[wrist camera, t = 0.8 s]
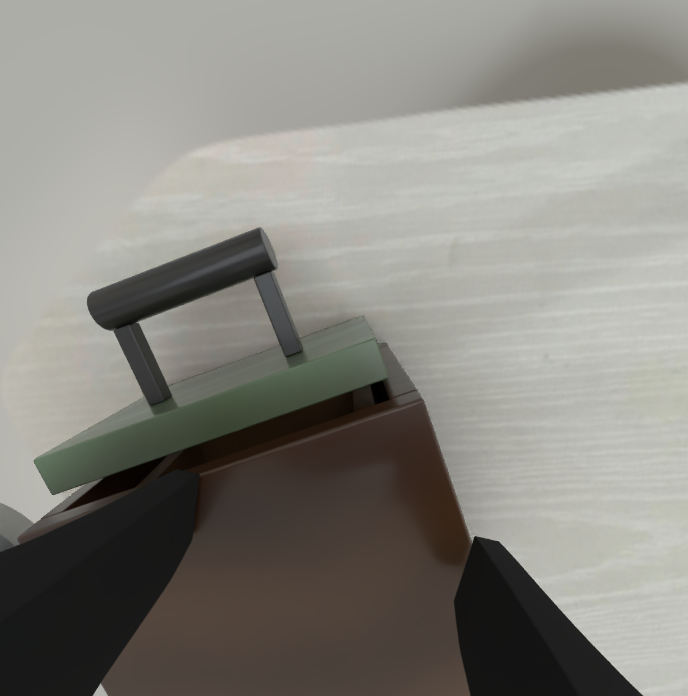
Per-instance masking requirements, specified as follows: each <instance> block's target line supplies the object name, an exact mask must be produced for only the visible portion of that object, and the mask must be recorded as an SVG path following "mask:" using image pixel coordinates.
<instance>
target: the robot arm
mask: <svg viewBox="0 0 688 696" xmlns="http://www.w3.org/2000/svg"><path fill="white" fill-rule="evenodd" d="M199 476H200V474H196V473H191V472H187V471H183V470H178V469H177V470H175V471H173V472H170V473H168V474H166V475H164V476H162V477H160V478H158V479H156V480H155V481H153V482H151V483H149V484H147V485H145V486H143V487H141V488H139V489H137V490H135V491H133V492H131V493H129V494H127V495H125V496H123V497H121V498H120V499H118V500H116V501H114V502H112V503H110V504H108V505H106V506H104V507H102V508H100V509H98V510H96V511H94V512H91V513H89V514H87V515H85V516H83V517H81V518H78V519H76V520H74V521H72V522H70V523H67V524H65V525H63V526H61V527H59V528H57V529H54V530H52V531H50V532H48V533H46V534H44V535H41V536H39V537H37V538H34V539H32V540H30V541H27V542H25V543H22V544H20V545H17V546H15V547H12V548H10V549H7V550H5V551H2V552H1V551H0V696H93V694H94V693H95V691H96V689H97V688H98V686H99V685H100V683H101V682H102V680H103V679H104V677H105V676H106V674H107V673H108V672H109V670H110V669H111V667H112V666H113V664H114V663H115V661H116V660H117V658H118V657H119V656H120V654H121V653H122V651H123V650H124V648H125V647H126V645H127V644H128V642H129V641H130V640H131V638H132V637H133V635H134V634H135V632H136V631H137V629H138V628H139V626H140V625H141V624H142V622H143V621H144V619H145V618H146V616H147V615H148V613H149V612H150V610H151V609H152V607H153V606H154V604H155V603H156V602H157V600H158V599H159V597H160V596H161V594H162V593H163V591H164V590H165V588H166V587H167V585H168V584H169V582H170V581H171V579H172V577H173V575H174V574H175V572H176V570H177V568H178V566H179V565H180V563H181V561H182V559H183V557H184V555H185V553H186V551H187V549H188V547H189V546H190V544H191V542H192V538H193V529H194V520H195V511H196V502H197V493H198V484H199ZM454 608H455V617H456V626H457V633H458V640H459V648H460V653H461V657H462V661H463V666H464V670H465V674H466V679H467V683H468V687H469V692H470V696H643V695H642V694H641V693H640V692H639V691H638V690H637V689H635V688H634V687H633V686H632V685H631V684H630V683H629V682H628V681H627V680H626V679H625V678H624V677H623V676H622V675H621V674H620V673H619V672H618V671H617V670H616V668H615V667H614V666H613V665H612V664H611V663H610V662H609V661H608V660H607V659H606V658H605V657H604V656H603V655H602V654H601V653H600V652H599V651H598V650H597V649H596V648H595V647H594V646H593V645H592V644H591V643H590V642H589V641H588V640H587V638H586V637H585V636H584V635H583V634H582V633H581V632H580V631H579V630H578V629H577V628H576V627H575V626H574V624H573V623H572V622H571V621H570V620H569V619H568V618H567V617H566V616H565V615H564V614H563V612H562V611H561V610H560V609H559V608H558V607H557V606H556V605H555V604H554V602H553V601H552V600H551V599H550V598H549V597H548V596H547V595H546V593H545V592H544V591H543V590H542V589H541V588H540V587H539V585H538V584H537V583H536V582H535V581H534V580H533V579H532V578H531V576H530V575H529V574H528V573H527V572H526V571H525V570H524V568H523V567H522V566H521V565H520V564H519V563H518V562H517V560H516V559H515V558H514V557H513V556H512V555H511V554H510V553H509V552H508V551H507V549H506V548H505V547H504V546H503V545H502V544H501V543H500V542H499V541H494V540H490V539H486V538H481V537H477V536H475V537H474V540H473V543H472V546H471V549H470V552H469V555H468V558H467V561H466V564H465V568H464V571H463V574H462V577H461V580H460V583H459V586H458V589H457V592H456V595H455V598H454Z"/></svg>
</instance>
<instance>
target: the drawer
mask: <svg viewBox="0 0 688 696" xmlns="http://www.w3.org/2000/svg"><path fill="white" fill-rule="evenodd" d="M277 268H278V263H277V259H276V256H275V253H274V250H273V248H272V245H271V243H270V241H269V239H268V237H267V235H266V233H265V232H264V230H263V229H262V228H256V229H254V230H251V231H248V232H246V233H243V234H241V235H238V236H236V237H233V238H230V239H228V240H225V241H223V242H220V243H217V244H215V245H212V246H210V247H207V248H204V249H202V250H199V251H197V252H194V253H192V254H189V255H186V256H184V257H181V258H179V259H176V260H173V261H171V262H168V263H166V264H163V265H161V266H158V267H155V268H153V269H150V270H148V271H145V272H142V273H140V274H137V275H135V276H132V277H129V278H127V279H124V280H122V281H119V282H117V283H114V284H111V285H109V286H106V287H104V288H101V289H98V290H96V291H93V292H91V293H90V294H89V296H88V298H87V306H88V310H89V312H90V314H91V316H92V318H93V319H94V320H95V322H96V323H97V324H98V325H100V326H101V327H102V328H104V329H106V330H110V331H114V333H115V335H116V337H117V339H118V341H119V343H120V346H121V348H122V350H123V352H124V354H125V356H126V358H127V360H128V362H129V364H130V367H131V369H132V371H133V373H134V375H135V377H136V379H137V381H138V383H139V385H140V387H141V390H142V392H143V394H144V396H145V397H143V398H141V399H140V400H138V401H136V402H134V403H133V404H131V405H129V406H127V407H125V408H124V409H122V410H120V411H118V412H117V413H115V414H113V415H111V416H110V417H108V418H106V419H104V420H103V421H101V422H99V423H97V424H95V425H94V426H92V427H90V428H88V429H87V430H85V431H83V432H81V433H80V434H78V435H76V436H74V437H73V438H71V439H69V440H67V441H66V442H64V443H62V444H60V445H58V446H57V447H55V448H53V449H51V450H50V451H48V452H46V453H44V454H43V455H41V456H39V457H37V458H36V459H34V463H35V465H36V467H37V469H38V471H39V473H40V474H41V476H42V478H43V480H44V482H45V483H46V485H47V487H48V489H49V491H50V493H51V494H52V495H55V494H58V493H61V492H64V491H67V490H69V489H72V488H75V487H78V486H81V485H84V484H87V483H90V482H92V481H95V480H98V479H101V478H104V477H107V476H110V475H113V474H115V473H118V472H121V471H124V470H127V469H130V468H133V467H136V466H138V465H141V464H144V463H147V462H150V461H153V460H156V459H158V458H161V457H164V456H167V455H168V456H167V457H166V458H165V459H164V460H163V461H162V462H161V463H160V464H159V465H158V466H157V467H156V468H154V469H153V470H152V471H151V472H150V473H149V474H148V475H147V476H146V477H145V478H144V479H143V480H142V481H141V482H140V483H139V484H138V485H137V486H136V487H138V486H141V485H144V484H147V483H150V482H152V481H155V480H156V479H158V478H160V477H162V476H164V475H166V474H168V473H170V472H173V471H175V470H177V469H178V470H183V471H184V470H187V469H190V468H193V467H196V466H199V465H202V464H205V463H208V462H211V461H213V460H216V459H219V458H222V457H225V456H228V455H231V454H234V453H237V452H240V451H243V450H245V449H248V448H251V447H254V446H257V445H260V444H263V443H266V442H269V441H272V440H274V439H277V438H280V437H283V436H286V435H289V434H292V433H295V432H298V431H301V430H304V429H306V428H309V427H312V426H315V425H318V424H321V423H324V422H327V421H330V420H333V419H336V418H338V417H341V416H344V415H347V414H350V413H353V412H356V411H359V410H362V409H365V408H367V407H370V406H373V405H376V404H379V402H378V400H377V397H376V394H375V391H374V389H373V386H372V384H374V383H377V382H380V381H382V380H385V379H388V378H389V374H388V372H387V369H386V366H385V363H384V360H383V357H382V355H381V352H380V349H379V346H378V343H377V340H376V338H375V336H374V334H373V332H372V330H371V329H370V327H369V325H368V323H367V321H366V319H365V317H364V316H360V317H357V318H355V319H352V320H349V321H346V322H344V323H341V324H338V325H335V326H332V327H330V328H327V329H324V330H321V331H319V332H316V333H313V334H310V335H308V336H305V337H302V338H299V336H298V333H297V331H296V328H295V325H294V323H293V320H292V318H291V315H290V313H289V310H288V307H287V305H286V302H285V300H284V297H283V295H282V292H281V290H280V287H279V284H278V282H277V279H276V277H275V274H274V272H271V271H274V270H276V269H277ZM253 278H254V281H255V283H256V286H257V288H258V291H259V293H260V296H261V298H262V301H263V303H264V306H265V308H266V311H267V313H268V316H269V318H270V321H271V323H272V326H273V328H274V331H275V333H276V336H277V338H278V341H279V343H280V346H277V347H274V348H272V349H269V350H266V351H263V352H261V353H258V354H255V355H252V356H250V357H247V358H244V359H241V360H239V361H236V362H233V363H230V364H228V365H225V366H222V367H219V368H216V369H214V370H211V371H208V372H205V373H203V374H200V375H197V376H194V377H192V378H189V379H186V380H183V381H181V382H178V383H175V384H172V385H170V386H168V385H167V383H166V381H165V379H164V376H163V374H162V372H161V370H160V368H159V366H158V364H157V361H156V359H155V357H154V355H153V353H152V351H151V348H150V346H149V344H148V342H147V340H146V338H145V335H144V333H143V331H142V329H141V327H140V325H139V323H136V322H139V321H141V320H144V319H147V318H149V317H152V316H155V315H157V314H160V313H163V312H165V311H168V310H171V309H173V308H176V307H178V306H181V305H184V304H186V303H189V302H192V301H194V300H197V299H200V298H202V297H205V296H208V295H210V294H213V293H216V292H218V291H221V290H224V289H226V288H229V287H231V286H234V285H237V284H239V283H242V282H245V281H247V280H250V279H253ZM133 323H134V324H133Z"/></svg>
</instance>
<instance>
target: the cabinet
mask: <svg viewBox="0 0 688 696" xmlns="http://www.w3.org/2000/svg"><path fill="white" fill-rule="evenodd" d="M378 346H379V349H380V352H381V355H382V357H383V360H384V363H385V366H386V369H387V372H388V374H389V378H388V379H385V380H382V381H380V382H377V383H374V384H372V386H373V389H374V391H375V394H376V397H377V400H378V402H379V404H376V405H373V406H370V407H367V408H365V409H362V410H359V411H356V412H353V413H350V414H347V415H344V416H341V417H338V418H336V419H333V420H330V421H327V422H324V423H321V424H318V425H315V426H312V427H309V428H306V429H304V430H301V431H298V432H295V433H292V434H289V435H286V436H283V437H280V438H277V439H274V440H272V441H269V442H266V443H263V444H260V445H257V446H254V447H251V448H248V449H245V450H243V451H240V452H237V453H234V454H231V455H228V456H225V457H222V458H219V459H216V460H213V461H211V462H208V463H205V464H202V465H199V466H196V467H193V468H190V469H187V470H184V471H187V472H191V473H196V474H200V476H199V484H198V493H197V502H196V511H195V520H194V529H193V538H192V542H191V544H190V546H189V547H188V549H187V551H186V553H185V555H184V557H183V559H182V561H181V563H180V565H179V566H178V568H177V570H176V572H175V574H174V575H173V577H172V579H171V581H170V582H169V584H168V585H167V587H166V588H165V590H164V591H163V593H162V594H161V596H160V597H159V599H158V600H157V602H156V603H155V604H154V606H153V607H152V609H151V610H150V612H149V613H148V615H147V616H146V618H145V619H144V621H143V622H142V624H141V625H140V626H139V628H138V629H137V631H136V632H135V634H134V635H133V637H132V638H131V640H130V641H129V642H128V644H127V645H126V647H125V648H124V650H123V651H122V653H121V654H120V656H119V657H118V658H117V660H116V661H115V663H114V664H113V666H112V667H111V669H110V670H109V672H108V673H107V674H106V676H105V677H104V679H103V680H102V682H101V685H102V686H103V688H104V690H105V691H106V693H107V695H108V696H470V692H469V687H468V683H467V679H466V674H465V670H464V666H463V661H462V657H461V653H460V648H459V640H458V633H457V626H456V617H455V608H454V598H455V595H456V592H457V589H458V586H459V583H460V580H461V577H462V574H463V571H464V568H465V564H466V561H467V558H468V555H469V552H470V549H471V546H472V541H471V538H470V535H469V532H468V529H467V526H466V523H465V520H464V517H463V514H462V511H461V508H460V505H459V502H458V499H457V496H456V493H455V491H454V488H453V485H452V482H451V479H450V476H449V473H448V470H447V467H446V464H445V461H444V458H443V455H442V452H441V449H440V446H439V443H438V440H437V437H436V435H435V432H434V429H433V426H432V423H431V420H430V417H429V414H428V411H427V408H426V405H425V402H424V400H423V398H422V397H421V395H420V394H419V393H418V390H417V389H416V387H415V386H414V384H413V383H412V381H411V380H410V378H409V377H408V375H407V374H406V372H405V371H404V369H403V368H402V366H401V365H400V363H399V362H398V360H397V358H396V357H395V355H394V354H393V352H392V351H391V349H390V348H389V346H388V345H387V343H384V344H381V345H378ZM167 456H168V455H167ZM167 456H164V457H161V458H158V459H156V460H153V461H150V462H147V463H144V464H141V465H138V466H136V467H133V468H130V469H127V470H124V471H121V472H118V473H115V474H113V475H110V476H107V477H104V478H101V479H98V480H95V481H92V482H90V483H87V484H85V485H84V486H82V487H81V488H80V489H78V490H77V491H76V492H74V493H73V494H72V495H71V496H69V497H68V498H67V499H65V500H64V501H63V502H62V503H60V504H59V505H58V506H56V507H55V508H54V509H53V510H51V511H50V512H49V513H47V514H46V515H45V516H43V517H42V518H41V520H39V521H38V522H36V523H35V524H34V525H32V526H31V527H30V528H29V529H27V530H26V531H25V532H23V533H22V534H21V535H20V536H19V537H18V538H17V540H18V542H19V544H22V543H25V542H27V541H30V540H32V539H34V538H37V537H39V536H41V535H44V534H46V533H48V532H50V531H52V530H54V529H57V528H59V527H61V526H63V525H65V524H67V523H70V522H72V521H74V520H76V519H78V518H81V517H83V516H85V515H87V514H89V513H91V512H94V511H96V510H98V509H100V508H102V507H104V506H106V505H108V504H110V503H112V502H114V501H116V500H118V499H120V498H121V497H123V496H125V495H127V494H129V493H131V492H133V491H135V490H137V489H139V488H141V487H143V486H145V485H147V484H149V483H147V484H144V485H141V486H138V487H136V486H137V485H138V484H139V483H140V482H141V481H142V480H143V479H144V478H145V477H146V476H147V475H148V474H149V473H150V472H151V471H152V470H153V469H154V468H156V467H157V466H158V465H159V464H160V463H161V462H162V461H163V460H164V459H165V458H166V457H167ZM152 482H153V481H152ZM150 483H151V482H150Z"/></svg>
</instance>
